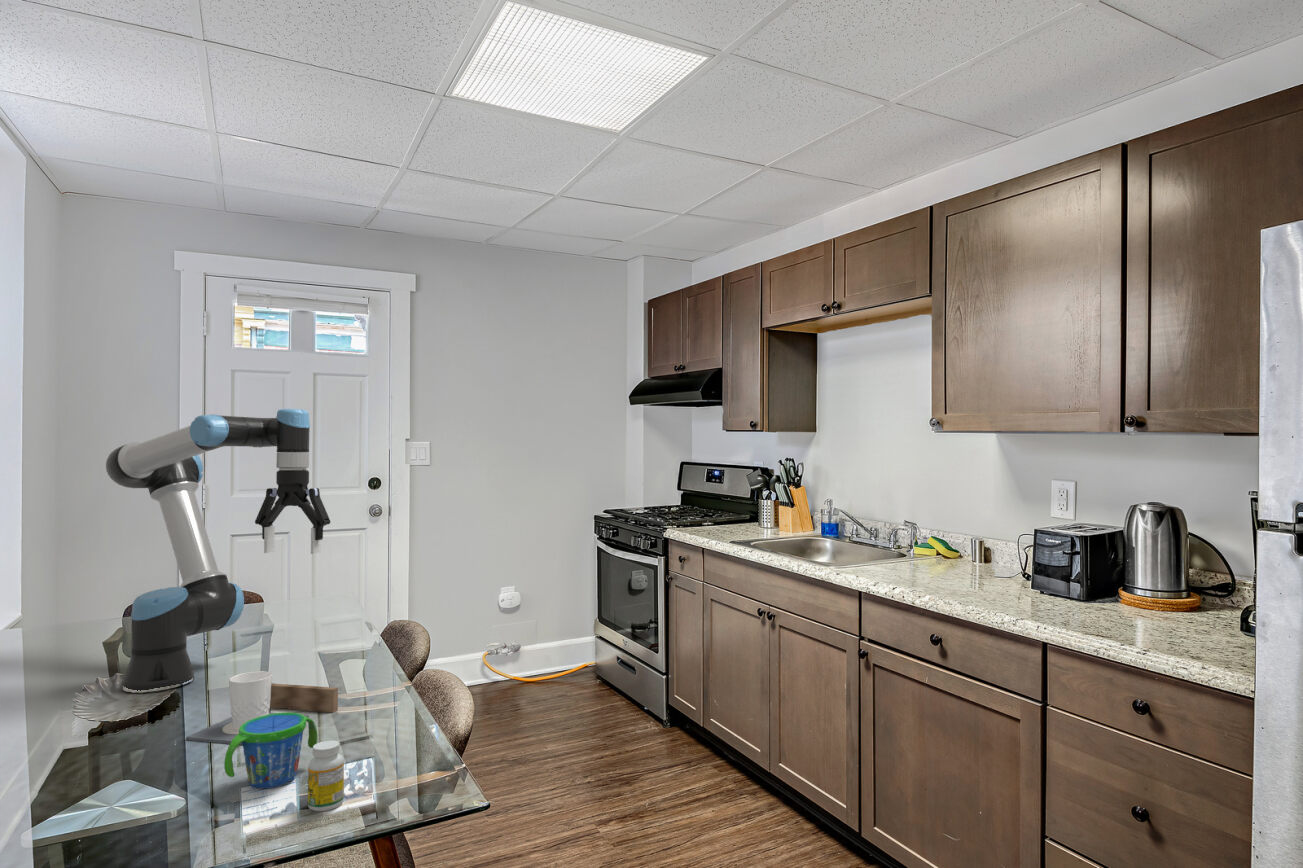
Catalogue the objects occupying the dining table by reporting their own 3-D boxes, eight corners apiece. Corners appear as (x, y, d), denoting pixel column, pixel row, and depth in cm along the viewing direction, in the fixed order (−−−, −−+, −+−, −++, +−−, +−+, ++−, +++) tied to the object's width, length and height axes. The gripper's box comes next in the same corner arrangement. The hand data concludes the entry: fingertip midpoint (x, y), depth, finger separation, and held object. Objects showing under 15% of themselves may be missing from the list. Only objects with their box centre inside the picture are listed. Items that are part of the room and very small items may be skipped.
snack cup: (237, 806, 120) (237, 742, 120) (212, 788, 127) (213, 727, 127) (330, 774, 132) (331, 716, 132) (303, 759, 139) (304, 704, 139)
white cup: (253, 732, 150) (253, 683, 151) (219, 730, 152) (220, 681, 152) (279, 719, 158) (280, 672, 158) (247, 717, 160) (248, 670, 160)
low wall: (248, 706, 169) (249, 684, 169) (253, 704, 171) (253, 682, 171) (333, 712, 164) (333, 689, 165) (337, 710, 166) (337, 687, 166)
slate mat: (186, 740, 149) (186, 736, 149) (246, 713, 164) (246, 709, 164) (254, 746, 145) (254, 742, 145) (308, 718, 161) (308, 714, 161)
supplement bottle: (344, 808, 119) (344, 747, 119) (307, 815, 117) (307, 753, 117) (343, 794, 124) (343, 736, 124) (308, 801, 122) (308, 741, 122)
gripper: (345, 468, 190) (344, 551, 189) (261, 469, 195) (260, 550, 195) (326, 469, 183) (325, 555, 182) (240, 469, 188) (239, 553, 187)
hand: (292, 552), depth 188 cm, fingers open, 13 cm apart
